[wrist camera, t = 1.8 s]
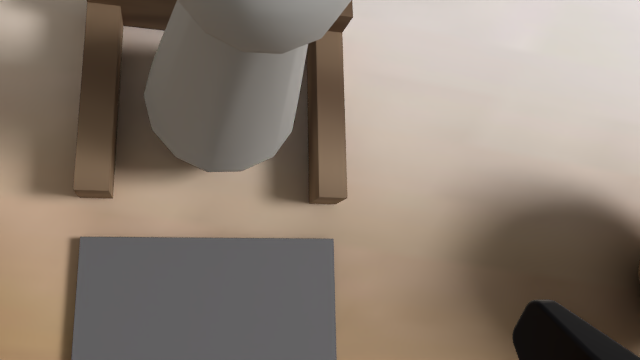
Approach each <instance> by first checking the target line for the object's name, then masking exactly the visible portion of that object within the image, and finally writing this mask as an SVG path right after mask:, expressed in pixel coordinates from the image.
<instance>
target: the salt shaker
mask: <svg viewBox="0 0 640 360" xmlns="http://www.w3.org/2000/svg"><path fill="white" fill-rule="evenodd" d="M350 2H351V0H177V2H176V4H175V7H174V9H173V12H172V14H171V17H170V19H169V22H168V24H167V27H166V29H165V32H164V34H163V37H162V39H161V42H160V44H159V47H158V49H157V52H156V54H155V57H154V59H153V62H152V64H151V68H150V72H149V76H148V80H147V84H146V88H145V92H144V99H145V103H146V107H147V111H148V115H149V119H150V123H151V127H152V130H153V131H154V133H155V134H156V135H157V136H158V137H159V138H160V139H161V141H162V142H163V143H164V144H165V145H166V146H167V147H168V149H169V150H170V151H171V152H172V153H173V154H174V156H175V157H176V158H179V159H181V160H183V161H185V162H187V163H189V164H191V165H194V166H196V167H198V168H200V169H202V170H204V171H206V172H235V171H243V170H245V169H248V168H250V167H252V166H254V165H256V164H259V163H261V162H263V161H265V160H267V159H270V158H272V157H274V155H275V154H276V153H277V151H278V150H279V149H280V147H281V146H282V144H283V143H284V142H285V140H286V139H287V138H288V136H289V135H290V133H291V132H292V129H293V124H294V119H295V114H296V109H297V104H298V99H299V94H300V88H301V82H302V76H303V71H304V65H305V59H306V54H307V48H308V44H309V43H311V42H314V41H316V40H319V39H321V38H322V37H323V36H324V35H325V33H326V32H327V31H328V30H329V29H330V27H331V26H332V25H333V23H334V22H335V21H336V20H337V18H338V17H339V16H340V14H341V13H342V12H343V11H344V9H345V8H346V7H347V6H348V4H349V3H350Z"/></svg>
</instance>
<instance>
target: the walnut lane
mask: <svg viewBox="0 0 640 360" xmlns="http://www.w3.org/2000/svg"><path fill="white" fill-rule="evenodd" d="M176 2H177V0H87V14H86V27H85V40H84V53H83V66H82V80H81V93H80V106H79V119H78V132H77V145H76V158H75V171H74V184H73V190H74V191H75V193H76V194H77V195H78V196H79V197H86V198H113V187H114V170H115V154H116V138H117V121H118V105H119V88H120V72H121V55H122V39H123V25H124V26H133V27H142V28H151V29H160V30H165V29H166V27H167V24H168V22H169V19H170V17H171V14H172V12H173V9H174V7H175V4H176ZM352 18H353V9H352V0H351V2H350V3H349V4H348V6H347V7H346V8H345V9H344V11H343V12H342V13H341V14H340V16H339V17H338V18H337V20H336V21H335V22H334V23H333V25H332V26H331V27H330V29H329V30H328V31H327V32H326V33H325V35H324V36H323V37H322V38H321V39H319V40H316V41H314V42H311V43H309V44H308V48H307V94H308V156H309V203H312V204H337V203H339V202H341V201H342V200H344V199H346V198H347V172H346V139H345V107H344V75H343V42H342V32H343V31H344V29H345V28H346V26H347V25H348V23H349V22H350V20H351V19H352Z"/></svg>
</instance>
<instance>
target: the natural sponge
mask: <svg viewBox="0 0 640 360" xmlns="http://www.w3.org/2000/svg"><path fill="white" fill-rule="evenodd" d="M638 276H639V282H640V260H639V268H638Z"/></svg>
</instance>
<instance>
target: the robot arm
mask: <svg viewBox="0 0 640 360" xmlns="http://www.w3.org/2000/svg"><path fill="white" fill-rule="evenodd" d="M513 343H514V346H515V349H516V352H517V355H518V358H519V360H640V357H638V356H637V355H635V354H634V353H632V352H631V351H629V350H628V349H626V348H625V347H623V346H622V345H620V344H619V343H617V342H616V341H614V340H613V339H611V338H610V337H608V336H607V335H605V334H604V333H602V332H601V331H599V330H598V329H596V328H595V327H593V326H592V325H590V324H589V323H587V322H586V321H584V320H583V319H581V318H580V317H578V316H577V315H575V314H574V313H572V312H571V311H569V310H568V309H566V308H565V307H563V306H562V305H560V304H559V303H557V302H555V301H553V300H532V301H530V302H529V303H528V304H527V306H526V307H525V309H524V311H523V313H522V315H521V317H520V319H519V320H518V322H517V324H516V326H515V328H514V330H513Z"/></svg>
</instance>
